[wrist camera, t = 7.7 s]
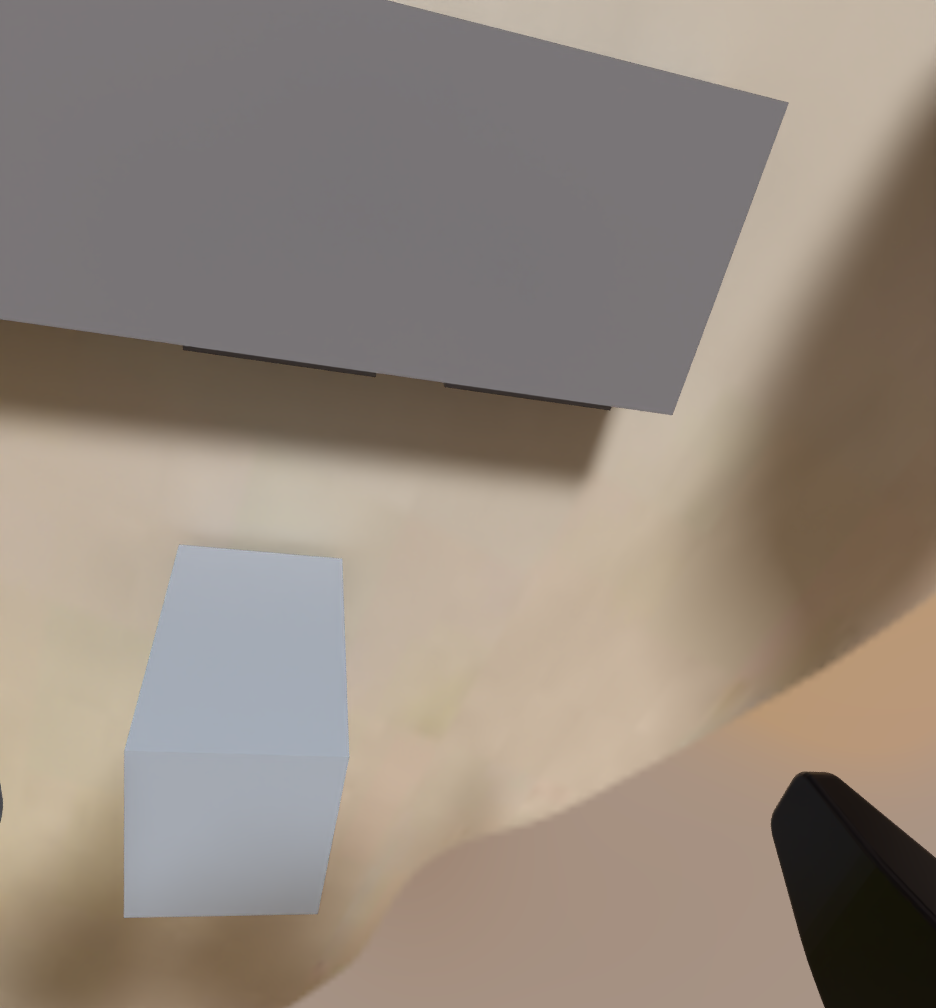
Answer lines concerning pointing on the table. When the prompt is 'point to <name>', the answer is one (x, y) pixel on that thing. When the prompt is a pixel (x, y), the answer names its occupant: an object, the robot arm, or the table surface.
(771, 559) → the table surface
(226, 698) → the block
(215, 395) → the table surface
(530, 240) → the power strip
